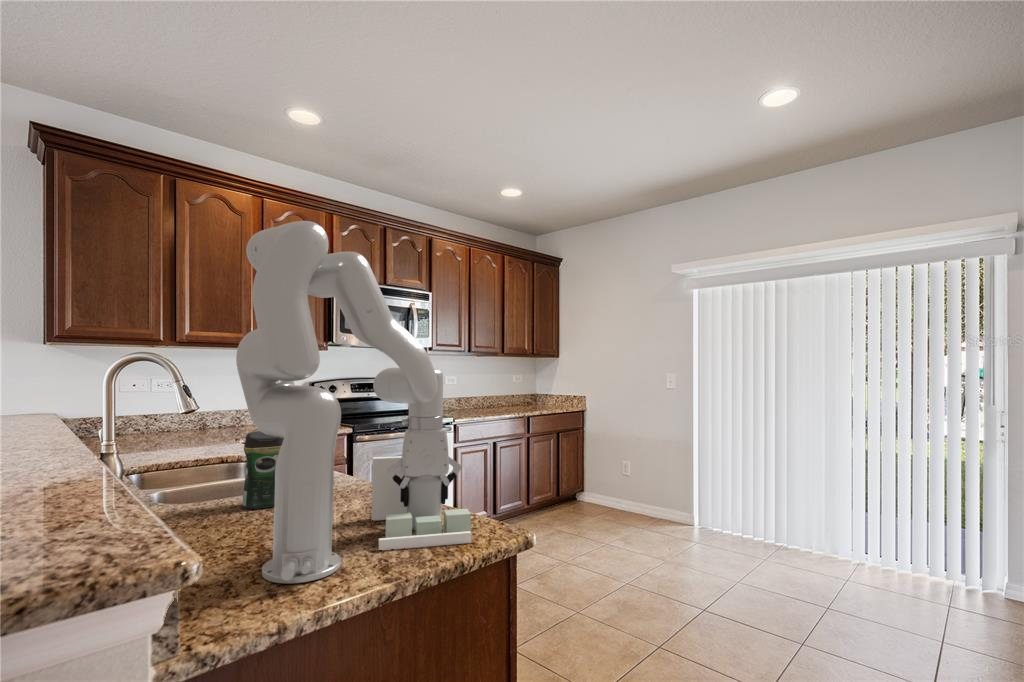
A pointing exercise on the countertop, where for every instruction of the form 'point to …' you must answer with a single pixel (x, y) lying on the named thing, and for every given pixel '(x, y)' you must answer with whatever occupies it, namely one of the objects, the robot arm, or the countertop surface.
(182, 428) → the countertop surface
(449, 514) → the offcut
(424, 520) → the offcut mid
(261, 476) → the coffee jar
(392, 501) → the rack
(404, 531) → the offcut
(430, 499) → the can
